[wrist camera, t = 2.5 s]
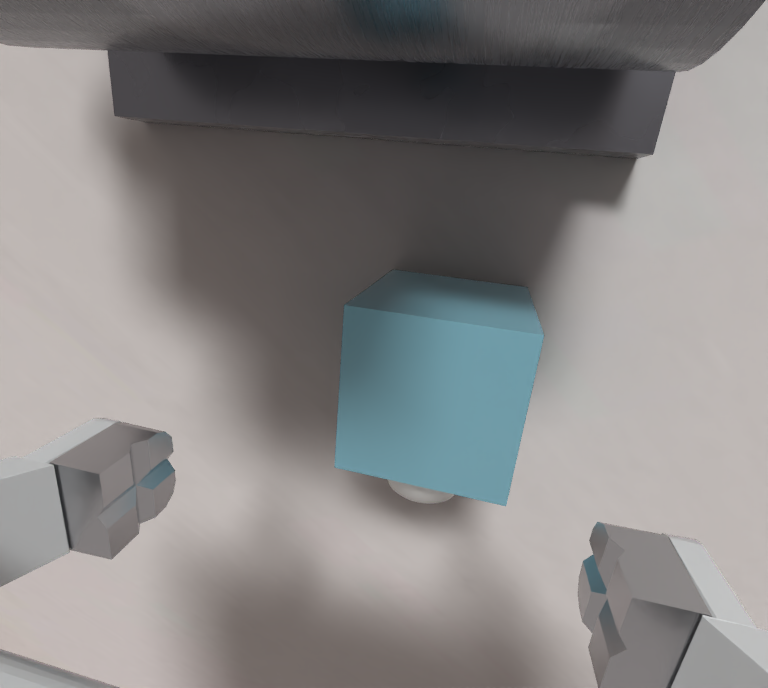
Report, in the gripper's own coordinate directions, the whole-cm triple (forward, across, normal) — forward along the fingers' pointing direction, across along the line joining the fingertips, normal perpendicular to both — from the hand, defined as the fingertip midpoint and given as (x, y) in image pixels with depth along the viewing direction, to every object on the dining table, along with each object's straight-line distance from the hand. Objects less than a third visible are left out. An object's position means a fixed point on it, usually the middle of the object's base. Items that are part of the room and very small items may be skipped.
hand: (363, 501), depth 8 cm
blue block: (+10, -1, 0) cm, 10 cm away
